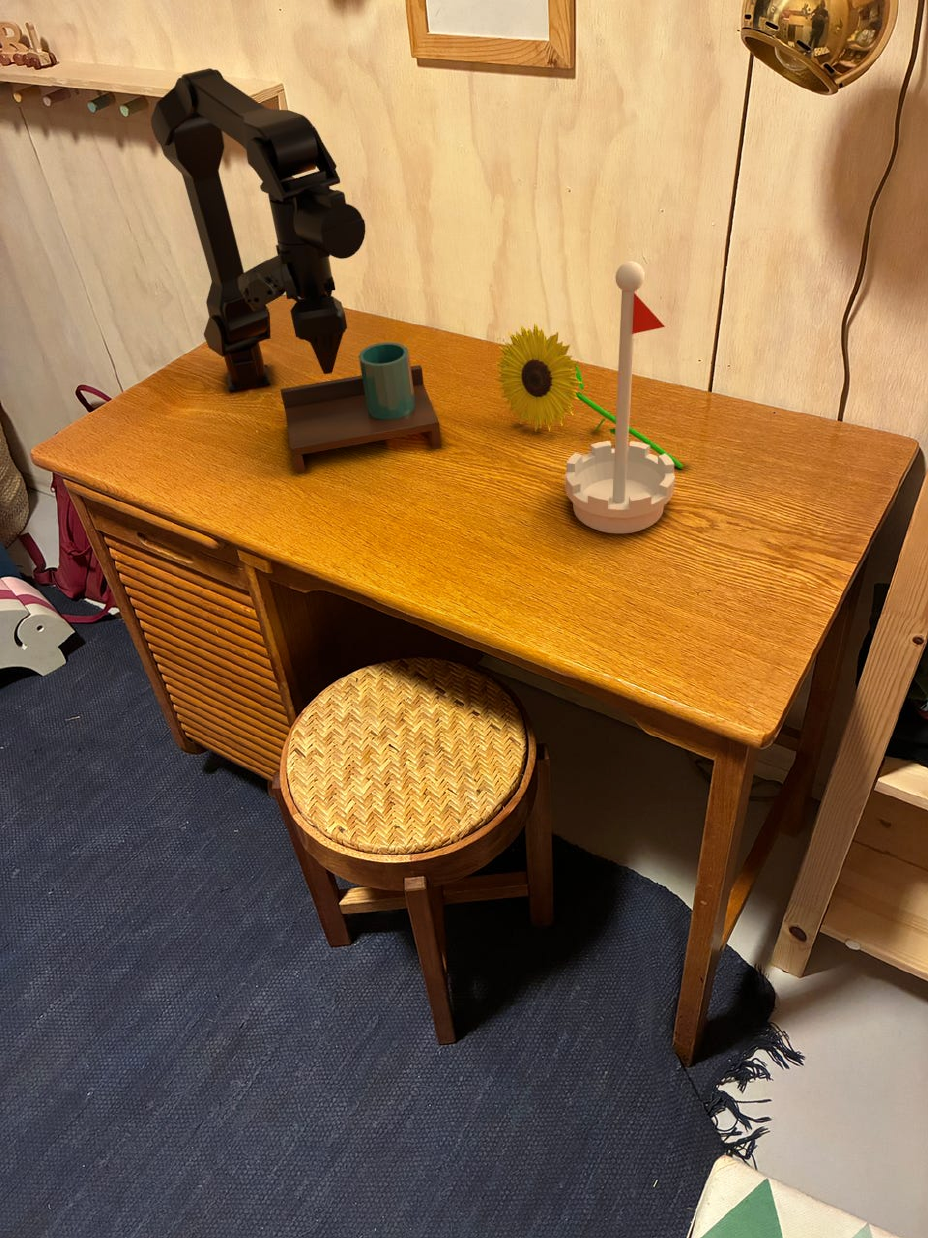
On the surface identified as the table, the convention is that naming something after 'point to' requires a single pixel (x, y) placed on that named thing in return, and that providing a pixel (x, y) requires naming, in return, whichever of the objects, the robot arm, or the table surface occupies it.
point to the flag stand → (622, 442)
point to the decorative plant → (546, 382)
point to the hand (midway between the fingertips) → (323, 357)
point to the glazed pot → (387, 380)
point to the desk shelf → (349, 417)
